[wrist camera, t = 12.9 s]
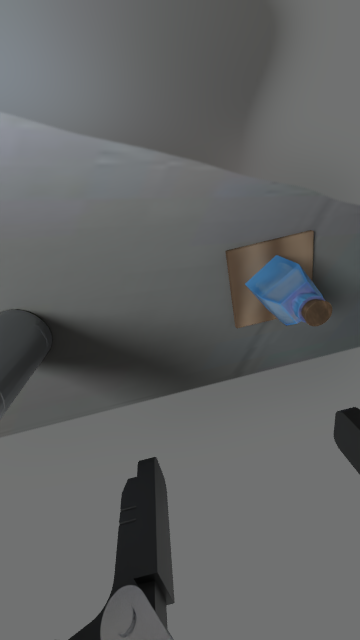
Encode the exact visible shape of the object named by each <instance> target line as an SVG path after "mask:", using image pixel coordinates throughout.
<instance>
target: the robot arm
mask: <svg viewBox="0 0 360 640" xmlns="http://www.w3.org/2000/svg"><path fill="white" fill-rule="evenodd" d="M51 346H52V335H51V332H50V330H49V328H48V326H47V325H46V324H45V323H44V322H43V321H42V320H41V319H40V318H38V317H37V316H36V315H34V314H31V313H29V312H26V311H23V310H6V311H3V312H1V313H0V419H1V418H2V416H3V415H4V413H5V412H6V411H7V409H8V408H9V406H10V405H11V403H12V402H13V401H14V399H15V398H16V396H17V395H18V394H19V392H20V391H21V389H22V388H23V387H24V385H25V384H26V382H27V381H28V380H29V378H30V377H31V375H32V374H33V373H34V371H35V370H36V368H37V367H38V366H39V364H40V363H41V361H42V360H43V359H44V357H45V356H46V354H47V353H48V351H49V350H50V348H51ZM334 439H335V442H336V444H337V446H338V448H339V449H340V450H341V452H342V453H343V454H344V455H345V457H346V458H347V459H348V460H349V462H350V463H351V464H352V465H353V467H354V468H355V469H356V470H357V472H358V473H359V474H360V409H358V408H356V407H353V408H349V409H345V410H341V411H337V412H336V416H335V427H334ZM119 523H120V526H119V531H118V543H117V554H116V564H115V576H114V583H113V587H112V591H111V594H110V597H109V599H108V601H107V603H106V605H105V606H104V608H103V610H102V611H101V613H100V614H99V615H98V616H97V617H96V618H95V619H94V620H93V621H92V622H91V623H89V624H88V625H87V626H85V627H84V628H83V629H81V630H80V631H79V632H78V633H76V634H75V635H74V636H72V637H71V638H70V639H69V640H173V638H172V636H171V635H170V633H169V631H168V630H167V613H166V605H169V604H173V603H174V590H173V575H172V561H171V546H170V533H169V532H170V531H169V517H168V502H167V491H166V484H165V479H164V476H163V473H162V471H161V468H160V466H159V463H158V460H157V458H156V457H153V458H149V459H145V460H141V461H139V462H138V472H137V477H134V478H130V479H128V480H127V483H126V485H125V487H124V490H123V492H122V498H121V512H120V520H119Z"/></svg>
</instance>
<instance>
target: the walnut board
mask: <svg viewBox="0 0 360 640" xmlns="http://www.w3.org/2000/svg"><path fill="white" fill-rule="evenodd" d="M313 235H314V231H311V230H310V231H306V232H301V233H297V234H293V235H289V236H285V237H281V238H277V239H272V240H268V241H264V242H260V243H256V244H252V245H248V246H244V247H239V248H235V249H231V250H227V251H226V258H227V266H228V273H229V281H230V289H231V296H232V304H233V312H234V319H235V326H236V328H240V327H245V326H249V325H253V324H257V323H261V322H265V321H269V320H273V319H278V318H277V317H276V316H275V315H273V314H272V313H271V312H270V311H269V310H268V309H267V308H266V307H265V306H264V305H263V304H262V303H261V301H260V300H259V299H258V298H257V297H256V296H255V295H254V294H253V293H252V292H251V291H250V289H249V288H248V287H247V286H246V285H245V283H246V282H248V281H249V280H250V279H251V278H252V277H253V276H254V275H255V274H256V273H257V272H258V271H260V270H261V269H262V268H263V267H264V266H265V265H266V264H267V263H268V262H269V261H270V260H272V259H273V258H274V257H275V256H276V255H278V256H280V257H283V258H285V259H288V260H290V261H293V262H295V263H298V264H299V265H300V266H301V267H302V269H303V270H304V271H305V273H306V274H307V275H308V277H309V278H310V279H311V281H312V272H313Z"/></svg>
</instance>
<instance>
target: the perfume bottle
mask: <svg viewBox="0 0 360 640" xmlns="http://www.w3.org/2000/svg"><path fill="white" fill-rule="evenodd" d="M245 285H246V286H247V287H248V288H249V289H250V291H251V292H252V293H253V294H254V295H255V296H256V297H257V298H258V299H259V300H260V301H261V303H262V304H263V305H264V306H265V307H266V308H267V309H268V310H269V311H270V312H271V313H272V314H273V315H275V316H276V317H277V318H278V319H279V320H280V321H281V322H282V323H284V324H285V325H286V326H287V325H292V324H297V323H299V322H300V321H301V320H302V321H303V322H306V323H308V324H309V325H311V326H319V325H322V324H323V323H325V322H326V321H327V320H328V319H329V318H330V316H331V313H332V306H331V304H330V303H329V302H327V301H325V299H323V295H322V294H321V293H320V291H319V290H318V289H317V287H316V286H315V285H314V283H313V282H312V281H311V279H310V278H309V277H308V275H307V274H306V273H305V271H304V270H303V269H302V267H301V266H300V265H299V264H298V263H295V262H293V261H290V260H288V259H285V258H283V257H280V256H278V255H276V256H275V257H274V258H273V259H272V260H270V261H269V262H268V263H267V264H266V265H265V266H264V267H263V268H262V269H261V270H260V271H258V272H257V273H256V274H255V275H254V276H253V277H252V278H251V279H250V280H249V281H248V282H246V283H245Z"/></svg>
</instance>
